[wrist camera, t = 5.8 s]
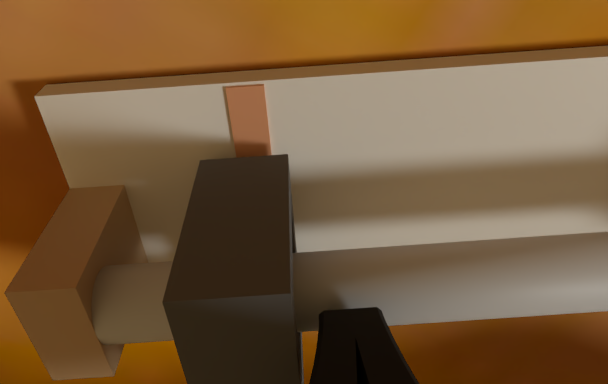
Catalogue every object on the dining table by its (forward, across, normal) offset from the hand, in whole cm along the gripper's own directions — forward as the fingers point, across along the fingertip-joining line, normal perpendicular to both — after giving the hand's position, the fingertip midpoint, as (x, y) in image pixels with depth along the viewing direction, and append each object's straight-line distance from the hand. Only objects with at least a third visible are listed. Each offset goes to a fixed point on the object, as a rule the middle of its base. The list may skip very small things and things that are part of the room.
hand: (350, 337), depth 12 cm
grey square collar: (+4, +2, 0) cm, 5 cm away
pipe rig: (+6, -3, 0) cm, 6 cm away
